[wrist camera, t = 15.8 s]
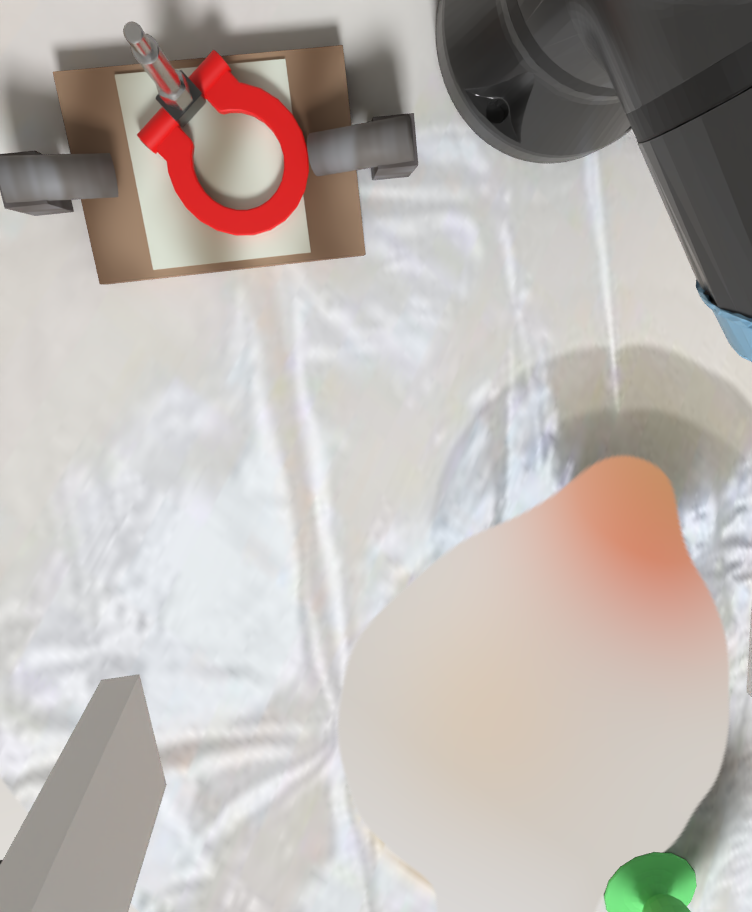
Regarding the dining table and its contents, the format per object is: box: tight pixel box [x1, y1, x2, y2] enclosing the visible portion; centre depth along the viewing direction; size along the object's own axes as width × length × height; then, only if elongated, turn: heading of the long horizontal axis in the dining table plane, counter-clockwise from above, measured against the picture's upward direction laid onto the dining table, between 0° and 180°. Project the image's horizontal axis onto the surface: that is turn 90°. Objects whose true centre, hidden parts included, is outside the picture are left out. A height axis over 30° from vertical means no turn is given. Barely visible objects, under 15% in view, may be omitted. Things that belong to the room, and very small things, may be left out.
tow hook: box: [123, 22, 309, 236], centre depth 32 cm, size 8×13×9 cm
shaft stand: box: [0, 45, 418, 284], centre depth 37 cm, size 24×12×6 cm, turn 96°
